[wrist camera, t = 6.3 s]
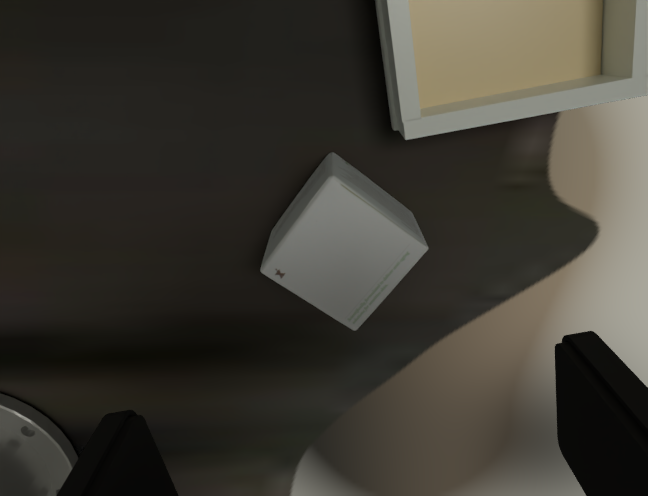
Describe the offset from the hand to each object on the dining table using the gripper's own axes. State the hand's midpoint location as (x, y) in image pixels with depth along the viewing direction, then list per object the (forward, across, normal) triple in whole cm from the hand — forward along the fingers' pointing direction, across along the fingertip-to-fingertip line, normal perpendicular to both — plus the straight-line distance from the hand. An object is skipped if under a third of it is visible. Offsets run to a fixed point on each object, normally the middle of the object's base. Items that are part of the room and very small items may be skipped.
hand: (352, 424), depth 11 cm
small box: (+16, 0, +1) cm, 16 cm away
